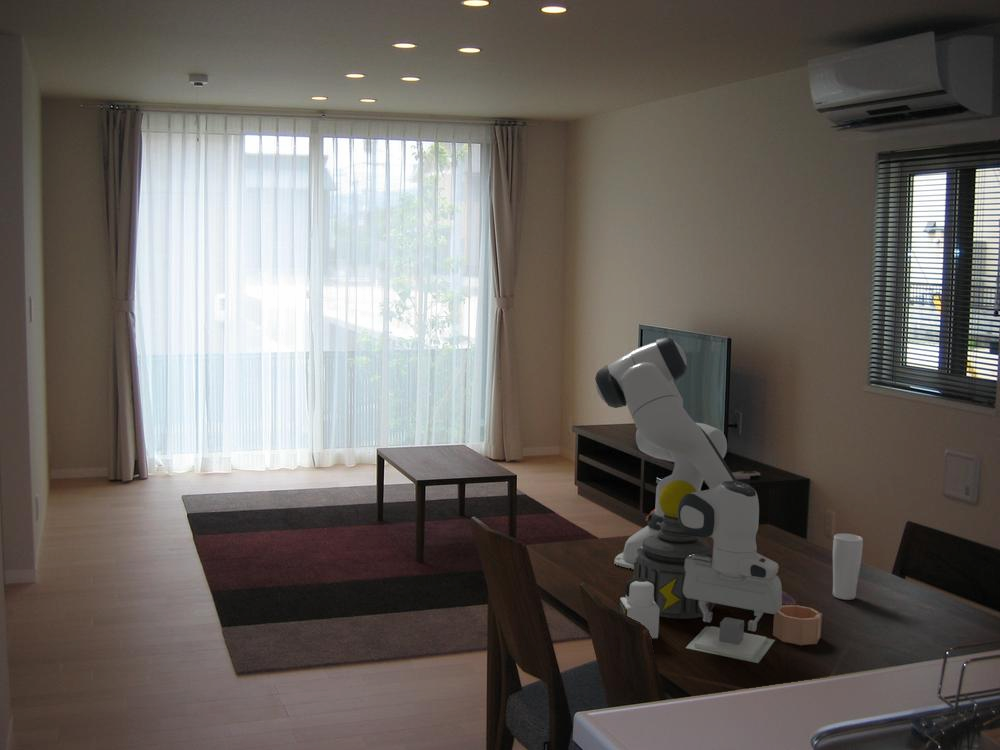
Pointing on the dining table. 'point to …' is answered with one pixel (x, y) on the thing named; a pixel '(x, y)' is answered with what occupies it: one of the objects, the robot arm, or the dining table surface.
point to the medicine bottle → (641, 604)
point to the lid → (731, 639)
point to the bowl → (797, 625)
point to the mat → (755, 659)
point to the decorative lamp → (671, 557)
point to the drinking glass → (846, 565)
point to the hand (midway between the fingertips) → (729, 625)
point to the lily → (787, 599)
